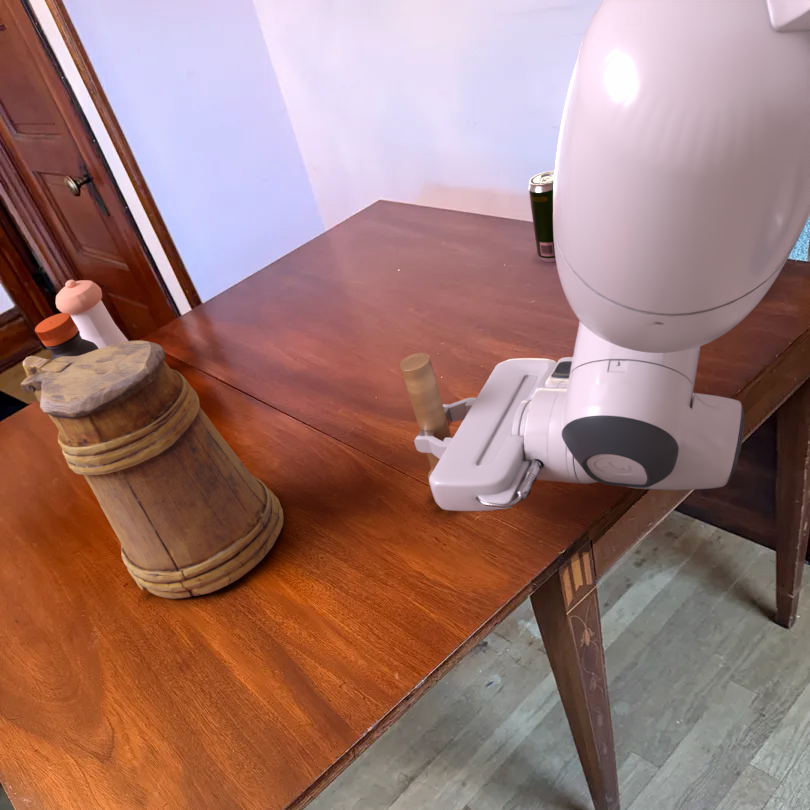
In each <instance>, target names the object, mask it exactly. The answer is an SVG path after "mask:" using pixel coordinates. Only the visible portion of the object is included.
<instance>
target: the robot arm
mask: <svg viewBox="0 0 810 810" xmlns="http://www.w3.org/2000/svg"><path fill="white" fill-rule="evenodd" d="M554 163H555V164H554V171H555V174H554V187H553V236H554V249H555V258H556V261H555V264H556V269H557V273H558V277H559V281H560V285H561V287H562V290H563V291H562V292H563V293H564V296H565V298H566V300H567V303H568V304H569V306H570V309H571V310H572V312H573V313H574V315H575V316H576V318H577V319H578V320H579V322H578V328H577V333H576V337H575V343H574V349H573V354H572V356H564V357H561V358H559V359H558V360H557V361H556V360H555V359H551V358H543V357H541V358H540V357H522V358H520V357H519V358H509V359H506V360H504V361H501V362H499V363H497V364H496V365H495V366H494V368H493V370H492V371H491V373H490V374H489V377H488V378H487V380H486V381H485V383H484V385H483V386H482V388H481V390H480V392H479V393H478V394H477V397H467V398H464V399H461V400H457V401H455V402H453V403H450V404H449V403H447V404H446V403H443V407H444V410H445V414H446V418H447V421H448V425H449V427H450V426H451V425H452V423H455V422H459V421H462V422H461V423H460V425H459V427H458V428H457V430H456V432H455V433H454V435H453V436H452V438H445V439H444V440H443V441H441V440H439V439H437V438H436V435H435V431H433V430H428V431H425V430H421V431H420V430H419V432H418V433H417V435H416V437H415V438H414V440H413V443H414V445H415V450H416V451H417V452H419V453H422V454H424V453H425V454H427V453H432V454H433V455H434V456H436V457H437V458H439V459H440V460H439V462H438V464H437V465H436V467H435V469H434V470H433V472H432V474H431V475H430V477H429V481H428V484H429V483H430V484H429V487H430V490H431V494H432V497H433V499H435V500H434V502H435V503H436V504H437V505H438V506H439V508H440V509H441V510H445V511H450V512H451V511H452V512H491V511H499V510H508V509H511V508H512V507H513V506H515V505H517V504H519V502H521V501H525V500H527V498H528V497H529V496H530V494H531V491H532V487H533V485H534V483H535V482H536V481H544V482H545V481H546V482H556V483H557V482H558V483H568V484H580V485H592V484H595V483H600V484H603V485H607V486H613V487H614V486H615V487H625V488H629V489H639V490H654V491H655V490H656V491H692V490H693V491H695V490H697V491H698V490H710V489H711V490H712V489H717V488H723V487H725V486H726V485H727V484H728V483H729V482H730V481H731V480H732V478H733V476H734V474H735V472H736V469H737V466H738V463H739V456H740V453H741V450H742V445H743V440H744V439H743V438H744V432H745V409H744V407H743V404H742V402H741V401H740V400H737V399H734V398H730V397H725V396H720V395H713V394H709V393H708V394H707V393H701V392H700V393H699V392H694V389H695V382H696V376H697V370H698V364H699V358H700V353H701V352H700V351H701V347H703V346H705V345H707V344H709V343H712V342H714V341H715V340H718V339H719V338H720V337H722V336H725V335H726V334H727V333H728V332H730V331H731V330H732V329H734V328H735V327H736V326H738V324H740V323H741V322H742V321H743V320H744V319H745V318H746V317H747V316H748V315H749V314H750V313H751V312H752V311H753V310H755V308H756V307H757V306H758V305H759V303H760V302H761V301H762V300H763V298H764V297H765V296H766V294H768V292H769V290H770V289H771V287H772V286H773V284H774V282H775V281H776V279H777V278H778V277H779V275H780V274H781V271H782V269H783V268H784V266H785V264H786V263H787V261H788V259H789V257H790V256H791V254H792V252H793V250H794V248H795V246H796V244H797V242H798V241H799V238H800V237H801V234H802V233H803V231H804V229H805V227H806V225H807V223H808V221H809V219H810V0H602V1H601V2H600V4H599V5H598V7H597V9H596V11H595V12H594V13H593V15H592V18H591V19H590V22H589V24H588V27H587V29H586V31H585V33H584V36H583V38H582V41H581V44H580V47H579V50H578V55H577V59H576V62H575V65H574V68H573V72H572V76H571V78H570V82H569V86H568V90H567V95H566V99H565V104H564V108H563V112H562V118H561V123H560V129H559V134H558V142H557V149H556V155H555V162H554Z"/></svg>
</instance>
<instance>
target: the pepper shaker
mask: <svg viewBox="0 0 810 810" xmlns="http://www.w3.org/2000/svg"><path fill="white" fill-rule="evenodd" d="M64 285H65V286H63V287H62V288H61V289H60V290H59V291H58V293H57V294H56V295H55V306H56V309H58V311H59V312H60V313H68V314H70V316H71V317H72V319H73V321H74V322H75V324H76V326H77V327H78V330H79V331H80V337H81V338H82V339H85V340H88V341H91V342H93V343H95V344H96V345H97V347H98V348H99V349H100V348H103V347H106V346H110V345H113V344H116V343H121V342H127V341H129V340H128V338H127V336H125V334H124V333H123V332H122V331H121V330H120V328H119V327H118V325H117V324H116V323H115V321H114V319H113V318H112V316H111V315H110V313H109V311H108V309H107V308H106V306H105V304H104V302H103V301H102V299H103V291H102V288H101V287H100V286H99V285H98V284H97V283H96V282H94V281H93V280H90V279H89V280H88V279H87V280H85V279H83V280H74V279H69V280H66V282H65V284H64Z"/></svg>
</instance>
